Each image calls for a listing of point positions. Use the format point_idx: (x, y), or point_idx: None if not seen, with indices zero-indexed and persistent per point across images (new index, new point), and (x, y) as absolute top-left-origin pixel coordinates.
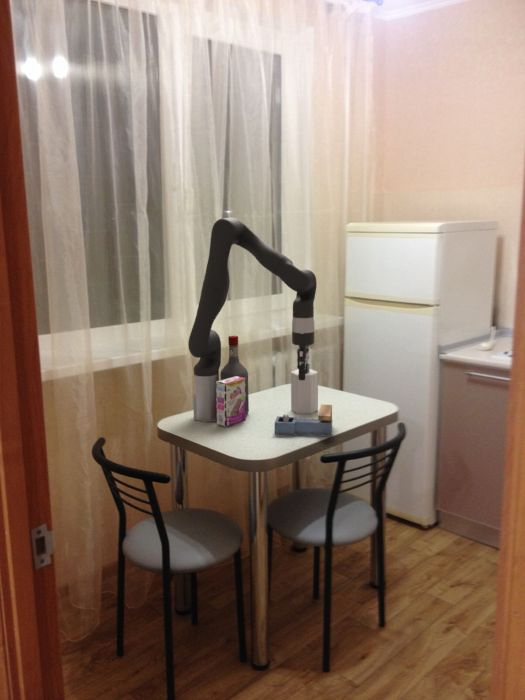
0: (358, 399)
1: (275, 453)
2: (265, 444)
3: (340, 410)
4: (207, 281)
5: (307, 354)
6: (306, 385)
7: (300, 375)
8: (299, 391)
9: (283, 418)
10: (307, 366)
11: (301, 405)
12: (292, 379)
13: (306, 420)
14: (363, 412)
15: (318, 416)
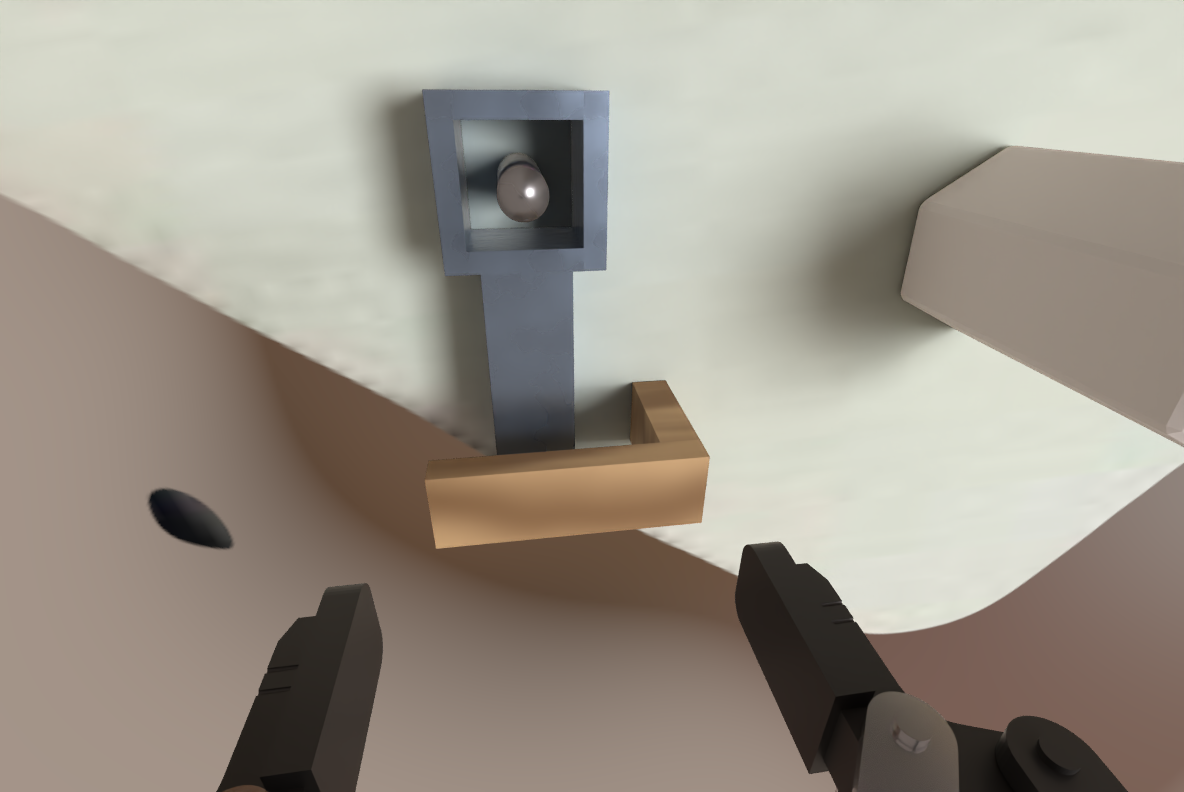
0: (1092, 499)
1: (26, 160)
2: (188, 39)
3: (933, 443)
4: None
5: None
6: (1081, 343)
7: (270, 688)
8: (1051, 261)
9: (505, 170)
10: (790, 716)
11: (952, 247)
12: None
13: (532, 350)
14: (881, 541)
15: (425, 478)
